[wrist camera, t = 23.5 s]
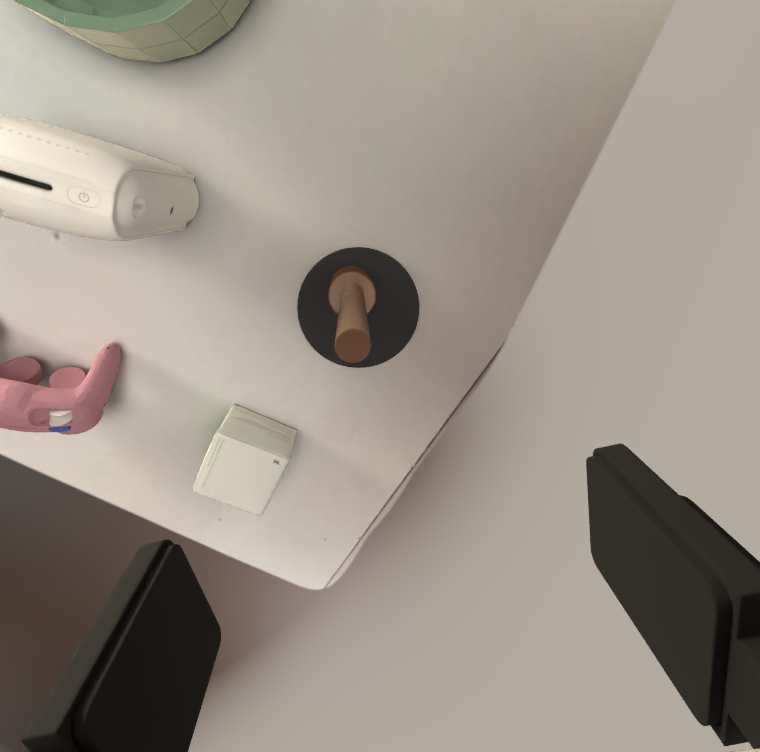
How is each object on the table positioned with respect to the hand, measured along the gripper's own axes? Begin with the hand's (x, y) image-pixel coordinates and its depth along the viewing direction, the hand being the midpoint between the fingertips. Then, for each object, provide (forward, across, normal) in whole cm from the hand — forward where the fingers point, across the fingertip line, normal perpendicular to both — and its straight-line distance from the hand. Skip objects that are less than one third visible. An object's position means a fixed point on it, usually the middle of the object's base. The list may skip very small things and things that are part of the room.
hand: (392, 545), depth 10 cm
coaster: (+25, +1, 0) cm, 25 cm away
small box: (+26, +12, +9) cm, 30 cm away
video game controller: (+25, +24, -1) cm, 35 cm away
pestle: (+25, +1, -1) cm, 25 cm away
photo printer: (+26, +14, -12) cm, 31 cm away
